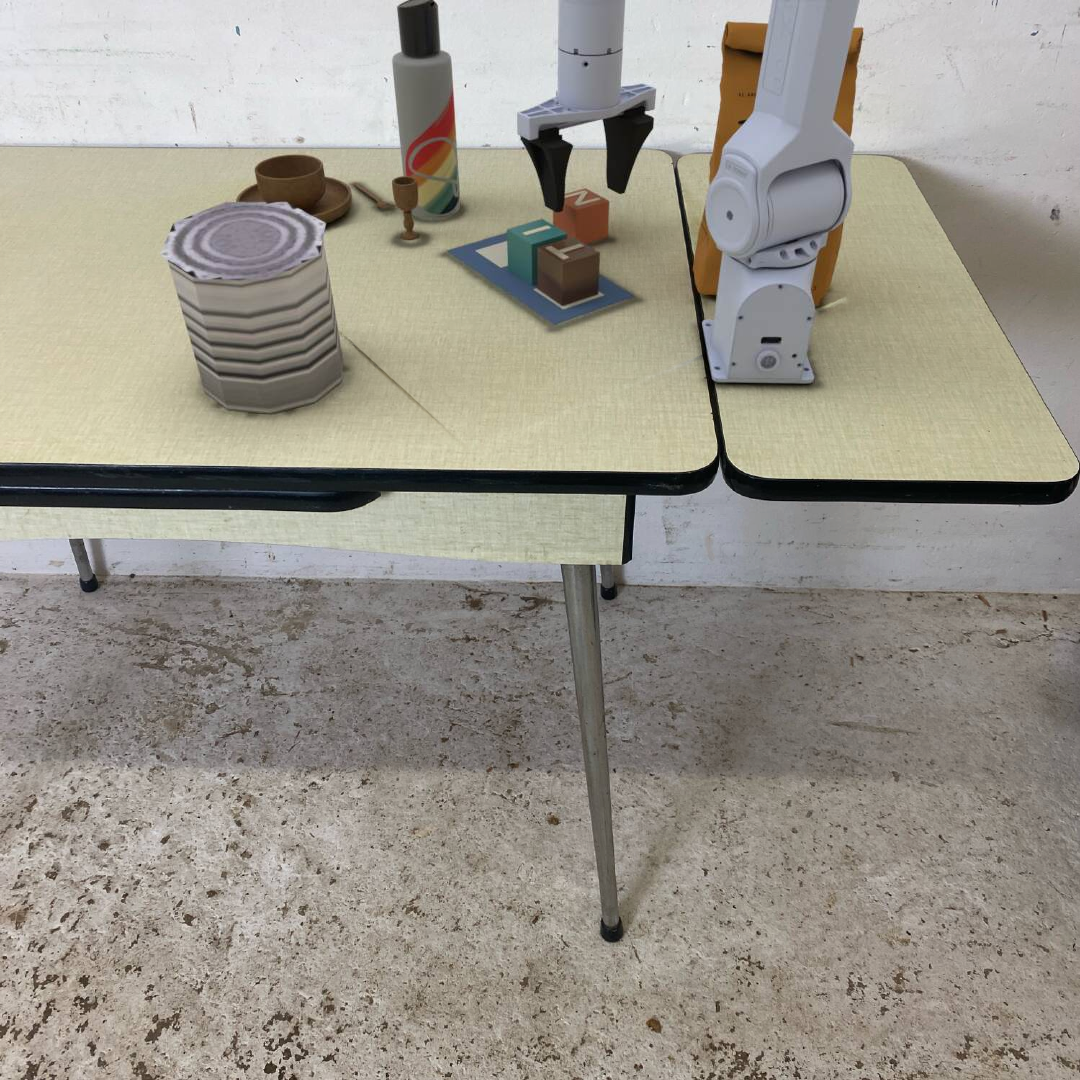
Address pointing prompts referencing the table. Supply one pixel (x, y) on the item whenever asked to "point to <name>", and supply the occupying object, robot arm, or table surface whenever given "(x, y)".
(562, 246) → the brown letter t cube
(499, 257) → the word mat
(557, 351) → the table surface
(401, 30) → the lotion bottle
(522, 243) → the tile
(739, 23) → the coffee package
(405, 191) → the place setting
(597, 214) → the orange letter cube
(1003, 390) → the table surface
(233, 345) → the can
